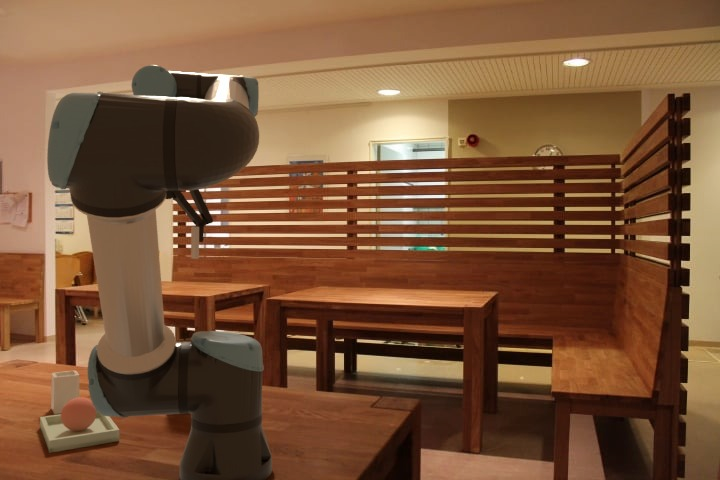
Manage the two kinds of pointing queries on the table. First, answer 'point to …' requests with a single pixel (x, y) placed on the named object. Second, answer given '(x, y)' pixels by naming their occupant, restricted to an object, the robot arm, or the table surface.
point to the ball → (78, 414)
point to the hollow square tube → (63, 389)
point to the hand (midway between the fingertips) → (161, 259)
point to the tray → (77, 433)
